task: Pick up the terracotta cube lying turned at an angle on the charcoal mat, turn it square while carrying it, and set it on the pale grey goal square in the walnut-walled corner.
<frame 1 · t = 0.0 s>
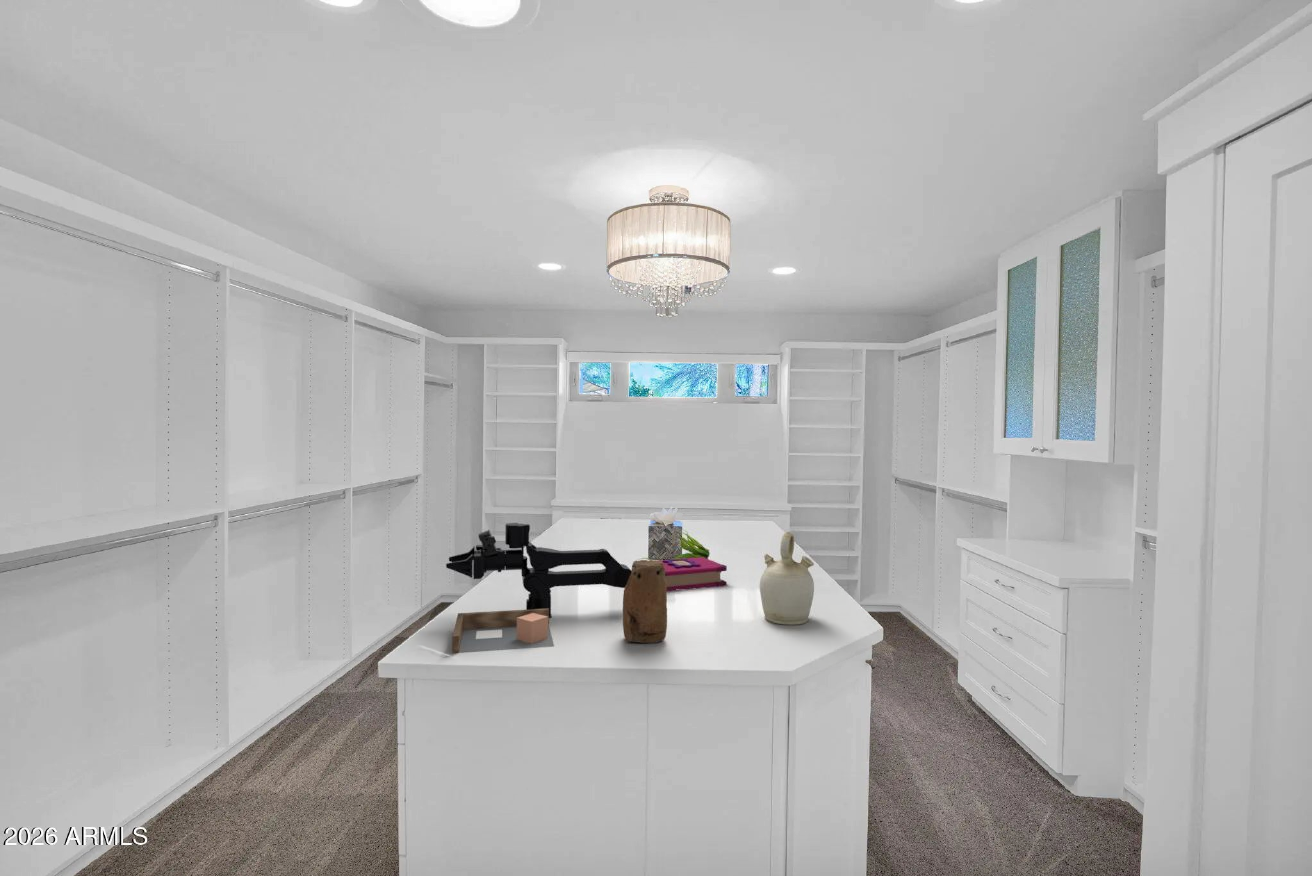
hand: (447, 562, 179), 17 cm above the table, tool horizontal, fingers open, 9 cm apart
brown carved figurine: (644, 640, 164), on the table
decorative plant: (673, 563, 262), on the table
cube: (532, 638, 164), resting on mat
book: (679, 584, 229), on the table
corner walls: (504, 629, 165), on the mat
jug: (786, 619, 184), on the table
mat: (504, 638, 165), on the table
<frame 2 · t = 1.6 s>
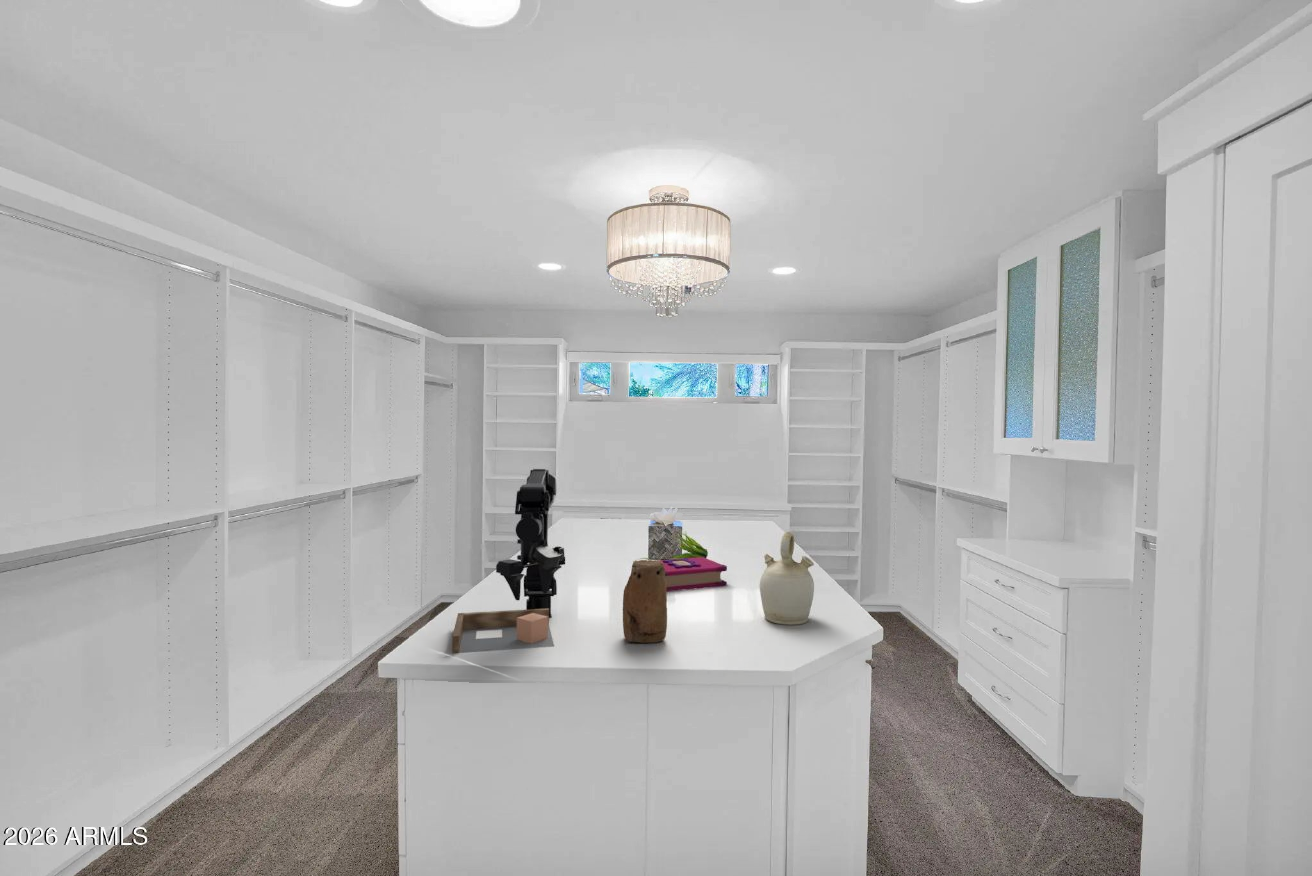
hand: (531, 596, 163), 11 cm above the table, tool pointing down, fingers open, 9 cm apart
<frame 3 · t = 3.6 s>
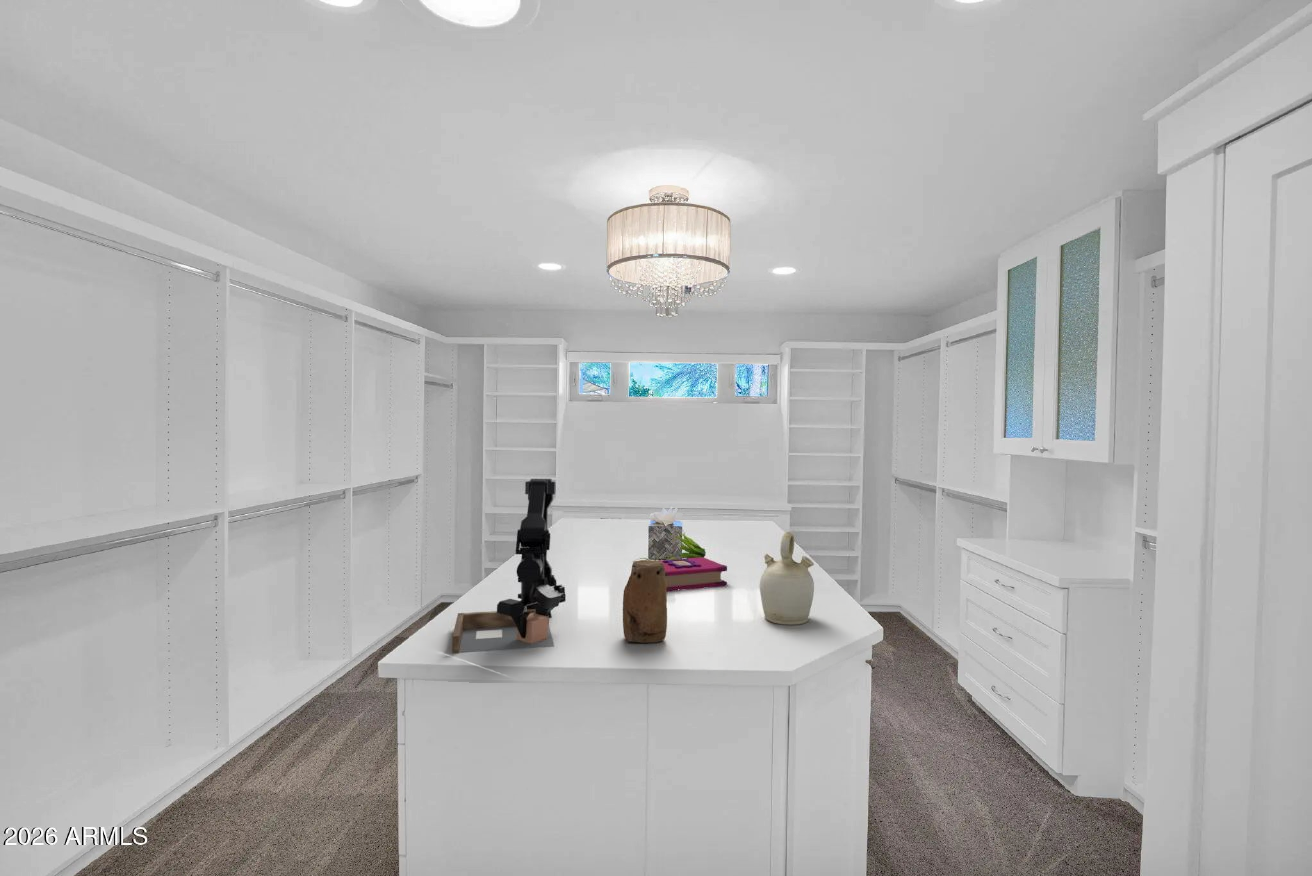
hand: (532, 635, 164), 1 cm above the table, tool pointing down, fingers closed on cube, 5 cm apart
cube: (532, 638, 164), resting on mat, touching gripper
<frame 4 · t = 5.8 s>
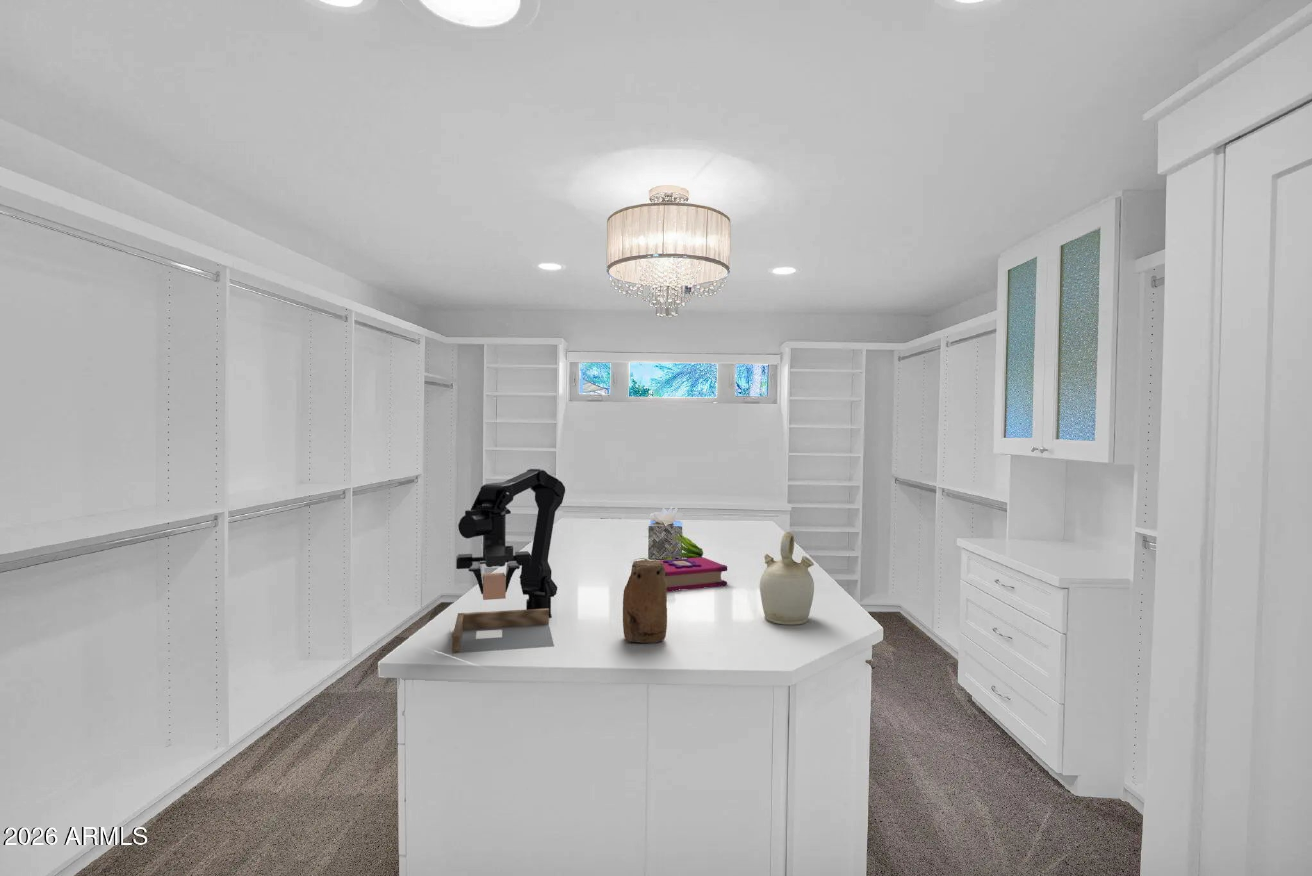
hand: (493, 593, 166), 11 cm above the table, tool pointing down, fingers closed on cube, 5 cm apart
cube: (493, 596, 166), point 10 cm above the table, touching gripper
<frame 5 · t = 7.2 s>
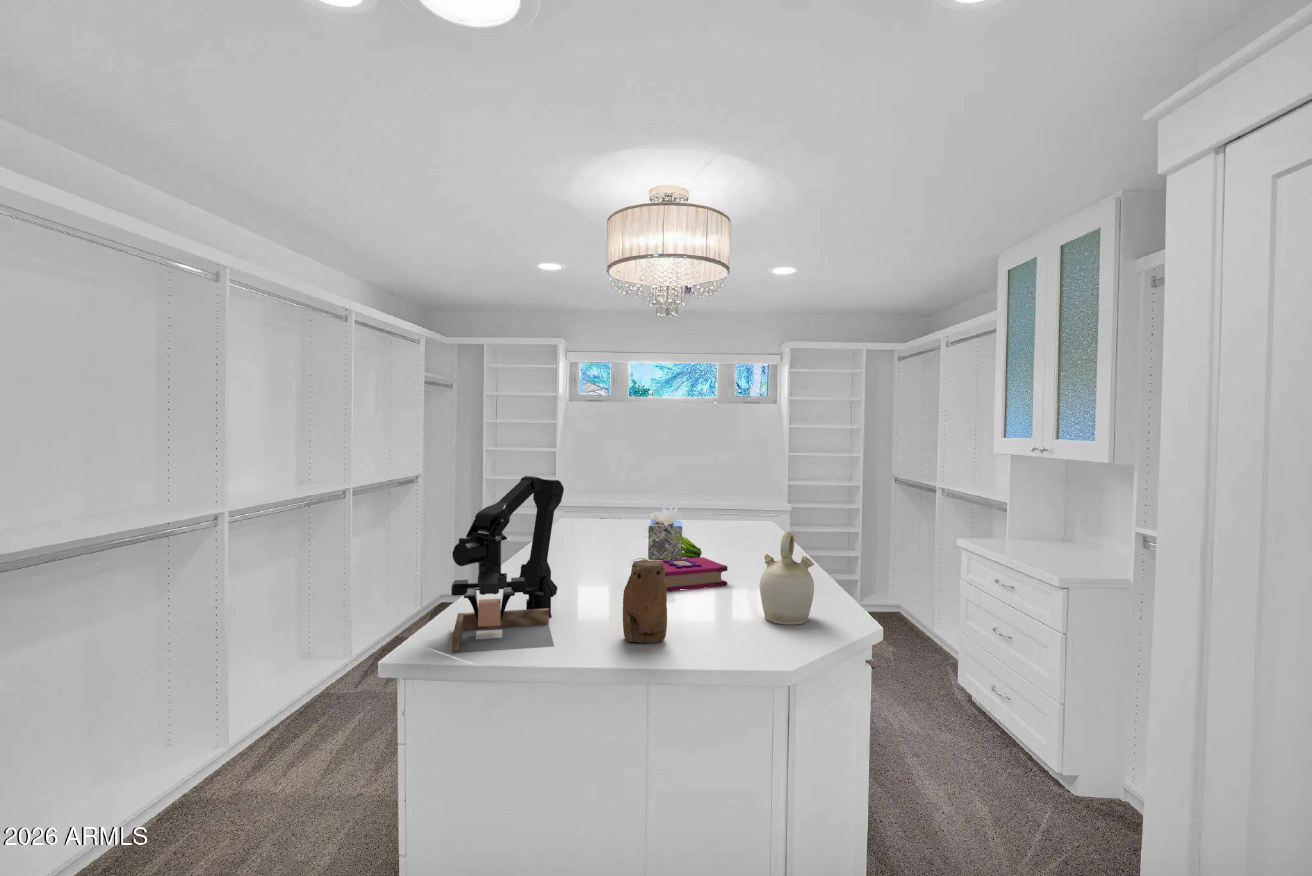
hand: (489, 619, 167), 4 cm above the table, tool pointing down, fingers closed on cube, 5 cm apart
cube: (489, 622, 167), point 3 cm above the table, touching gripper
when the fingers open (2 cm above the table, at t = 8.4 s): cube drops 1 cm, resting on mat.
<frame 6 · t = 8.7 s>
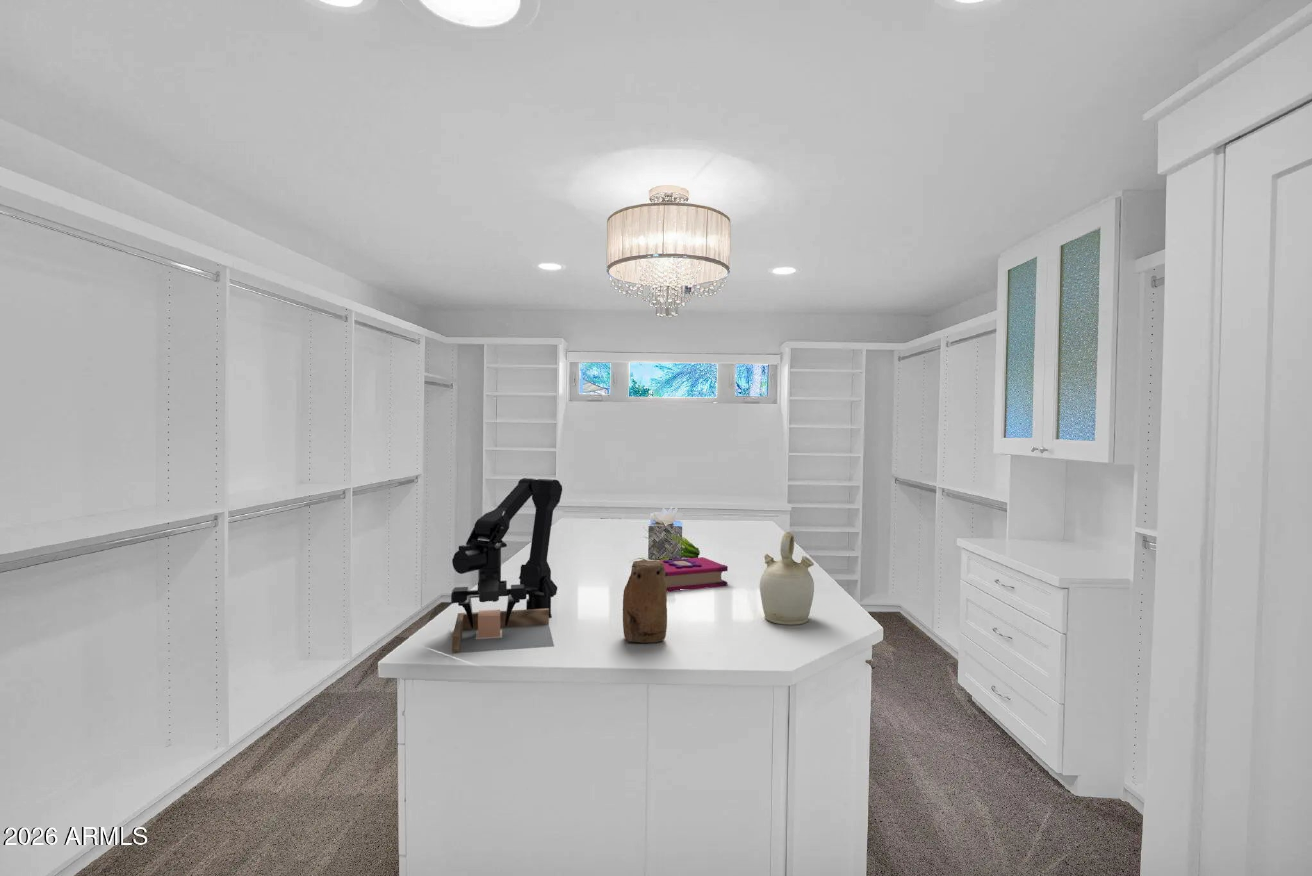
hand: (489, 626, 167), 2 cm above the table, tool pointing down, fingers open, 8 cm apart
cube: (489, 634, 167), resting on mat
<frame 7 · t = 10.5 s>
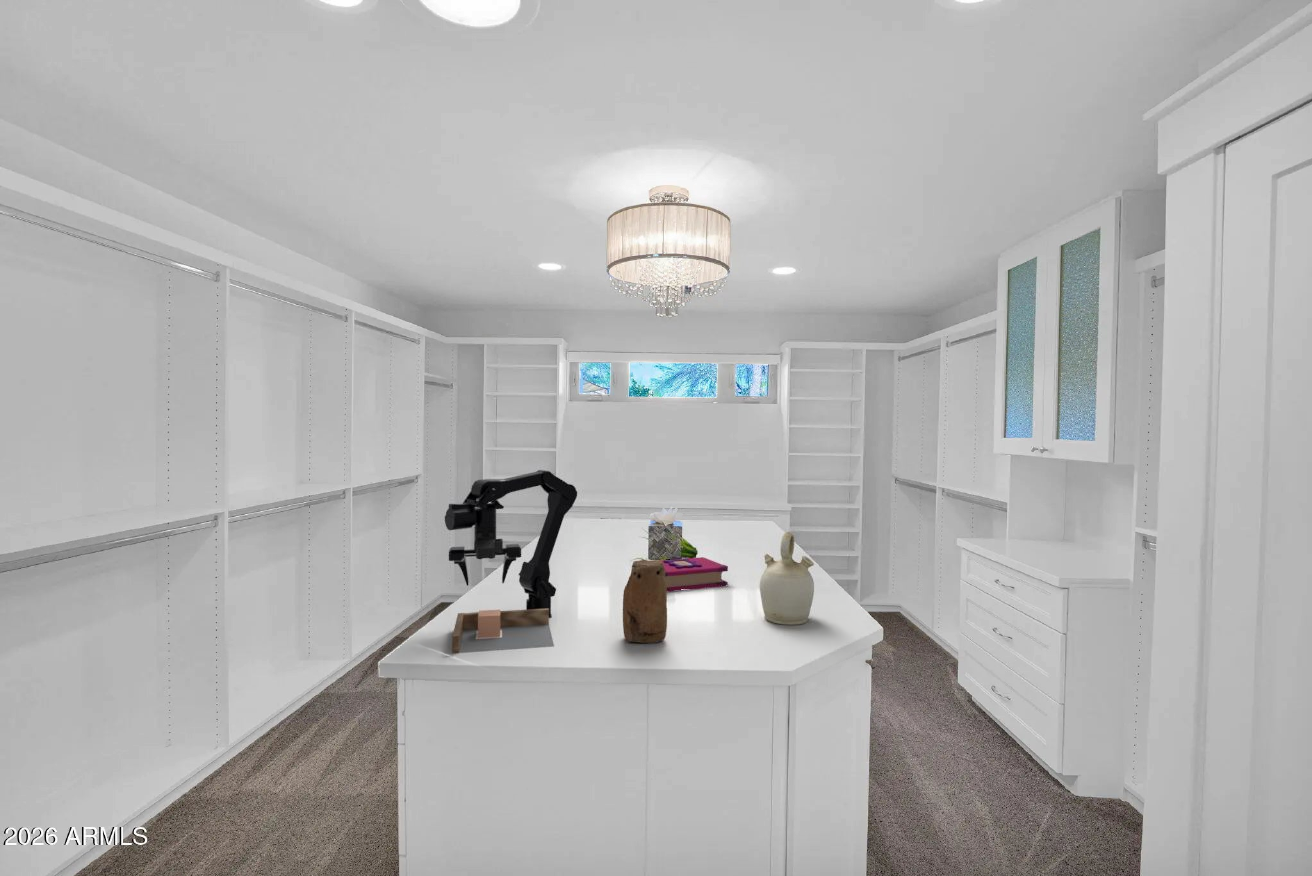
hand: (485, 584, 173), 12 cm above the table, tool pointing down, fingers open, 9 cm apart
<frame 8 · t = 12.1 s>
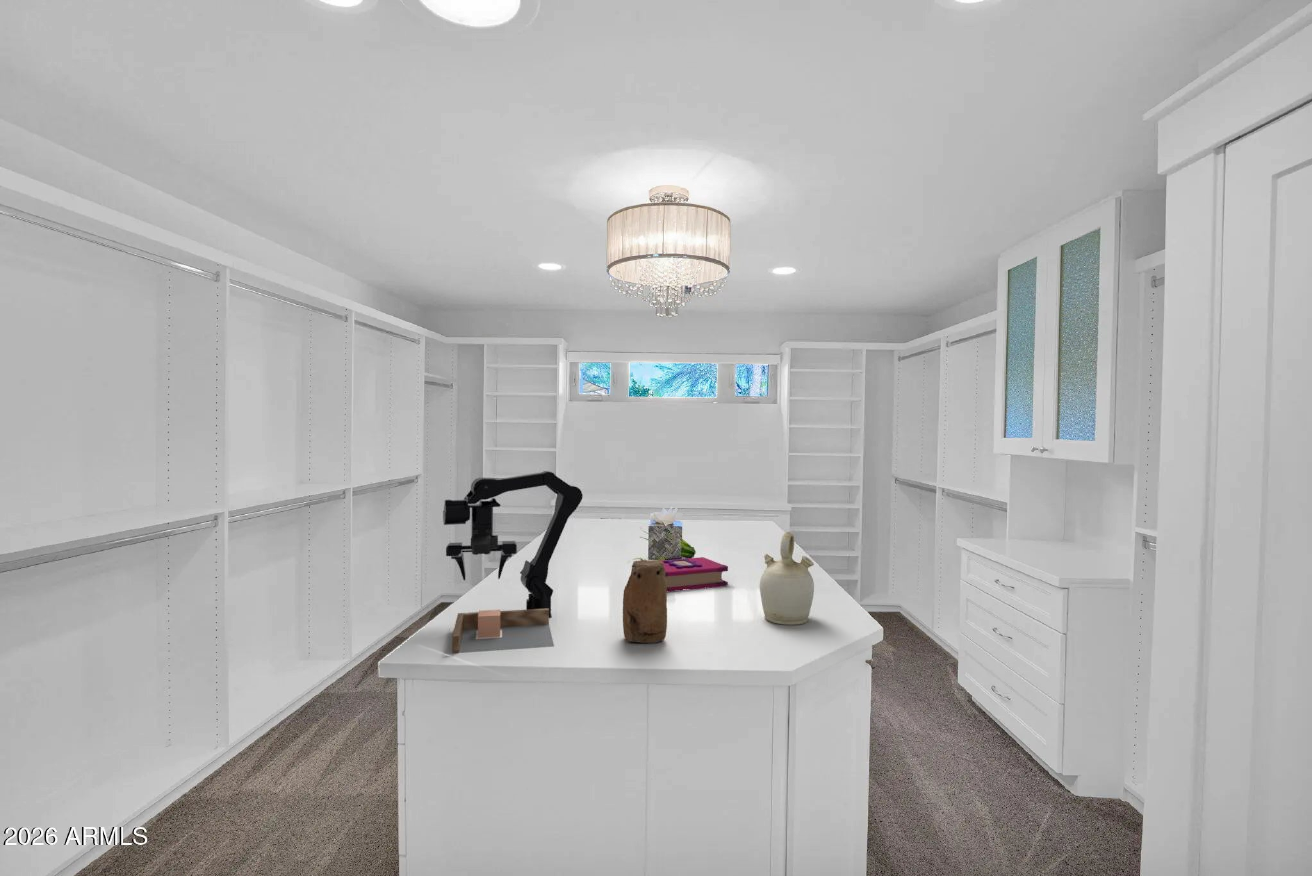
hand: (481, 579, 178), 12 cm above the table, tool pointing down, fingers open, 9 cm apart
at the end: cube 0.1 cm from the target spot, resting on mat; cube tilted 0°; the gripper is holding nothing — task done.
